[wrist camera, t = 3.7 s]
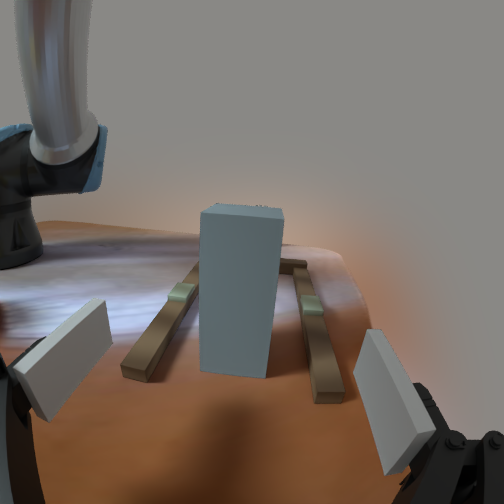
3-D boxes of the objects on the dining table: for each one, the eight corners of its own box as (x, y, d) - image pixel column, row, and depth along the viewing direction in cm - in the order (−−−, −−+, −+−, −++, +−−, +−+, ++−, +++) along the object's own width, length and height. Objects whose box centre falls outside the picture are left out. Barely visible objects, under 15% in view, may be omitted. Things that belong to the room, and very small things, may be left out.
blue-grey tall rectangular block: (265, 378, 20) (284, 219, 17) (200, 370, 20) (200, 212, 17) (266, 342, 25) (281, 208, 21) (212, 336, 25) (216, 203, 22)
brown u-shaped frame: (341, 403, 17) (347, 385, 17) (123, 376, 18) (118, 358, 17) (304, 271, 44) (305, 260, 44) (203, 261, 45) (203, 251, 44)
